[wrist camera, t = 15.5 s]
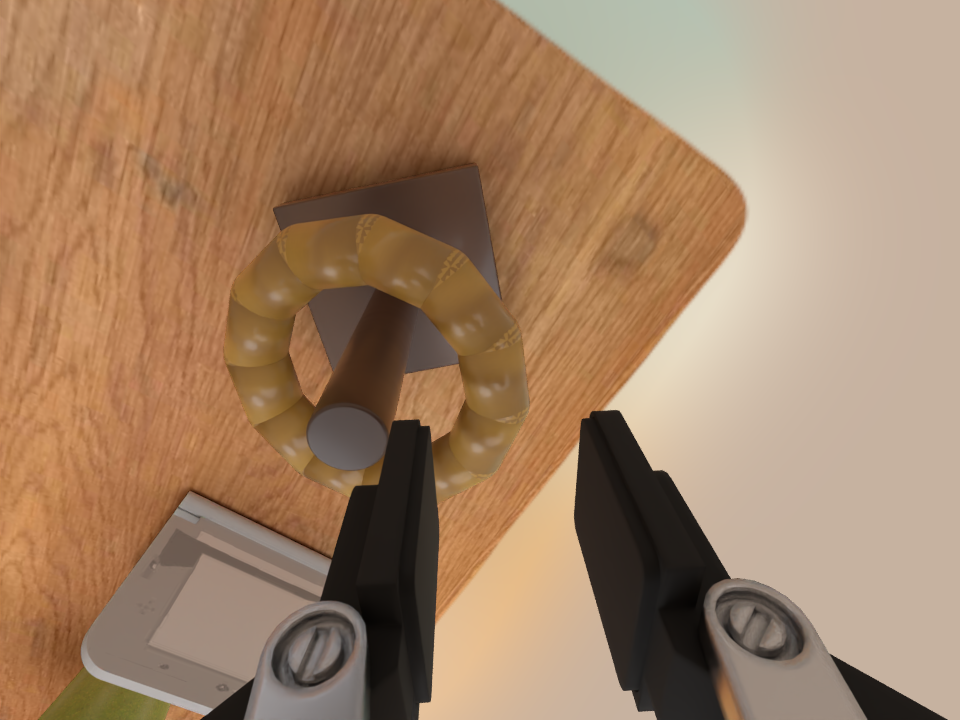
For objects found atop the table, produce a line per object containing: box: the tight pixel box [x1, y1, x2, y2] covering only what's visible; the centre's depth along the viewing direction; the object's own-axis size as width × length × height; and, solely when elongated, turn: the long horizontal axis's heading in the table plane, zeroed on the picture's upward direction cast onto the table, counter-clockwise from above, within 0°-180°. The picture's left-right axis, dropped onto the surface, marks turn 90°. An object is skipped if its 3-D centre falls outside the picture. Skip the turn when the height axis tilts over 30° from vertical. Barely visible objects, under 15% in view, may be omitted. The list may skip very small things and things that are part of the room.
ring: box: [223, 214, 530, 504], centre depth 14 cm, size 9×9×2 cm
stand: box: [273, 163, 502, 471], centre depth 18 cm, size 9×9×14 cm
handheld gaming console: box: [81, 491, 332, 716], centre depth 28 cm, size 13×9×10 cm
